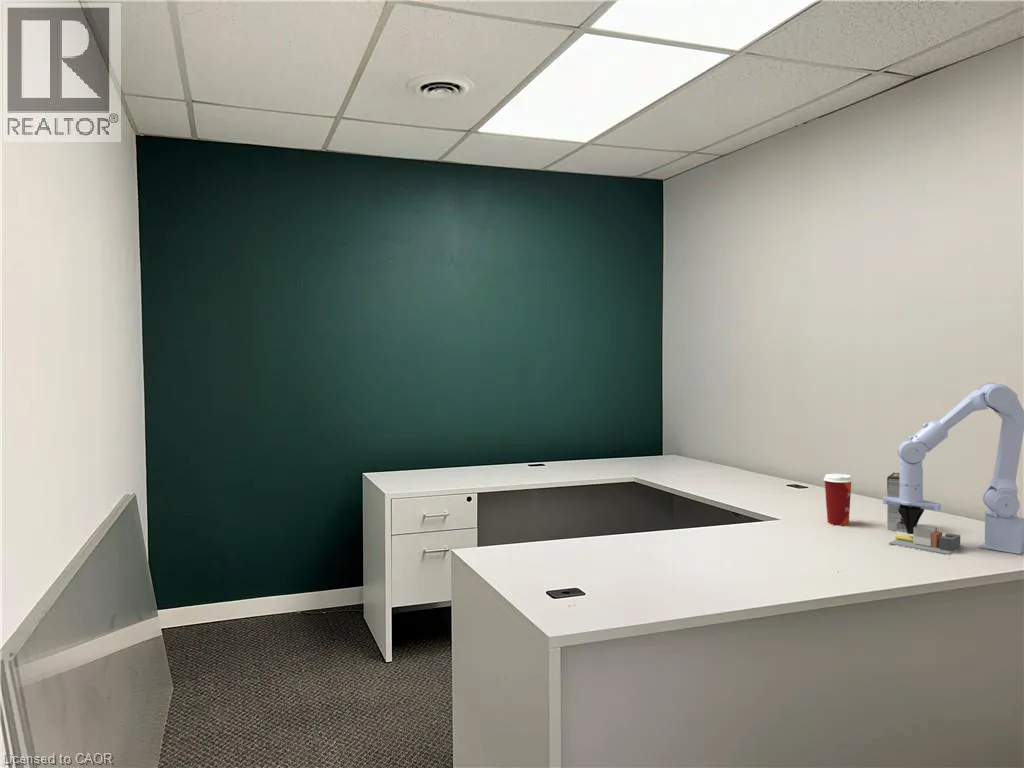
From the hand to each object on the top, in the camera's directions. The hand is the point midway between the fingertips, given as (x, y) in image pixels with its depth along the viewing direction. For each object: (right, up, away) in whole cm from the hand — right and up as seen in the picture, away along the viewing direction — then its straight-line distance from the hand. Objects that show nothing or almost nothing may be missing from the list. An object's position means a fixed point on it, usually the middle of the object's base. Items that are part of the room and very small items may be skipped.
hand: (911, 533), depth 206 cm
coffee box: (+6, -2, +16) cm, 18 cm away
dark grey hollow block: (+6, -3, -7) cm, 10 cm away
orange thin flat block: (+4, -3, -5) cm, 7 cm away
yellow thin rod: (+2, -3, -2) cm, 4 cm away
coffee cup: (-10, -2, +24) cm, 26 cm away
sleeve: (+2, -3, -3) cm, 4 cm away
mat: (+3, -3, -3) cm, 5 cm away
